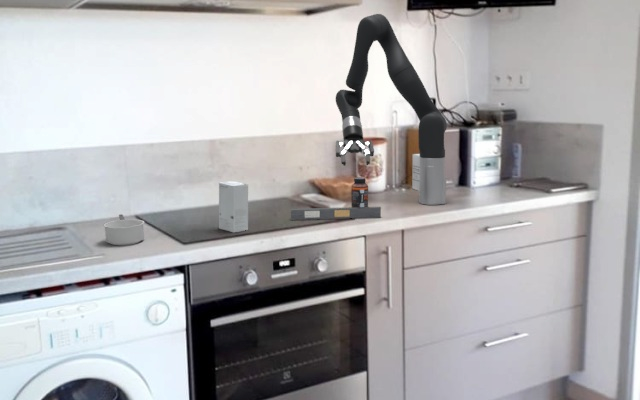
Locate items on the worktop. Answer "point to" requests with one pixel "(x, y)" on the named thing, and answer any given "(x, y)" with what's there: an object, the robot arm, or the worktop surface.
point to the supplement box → (415, 171)
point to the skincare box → (233, 206)
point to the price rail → (335, 213)
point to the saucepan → (124, 231)
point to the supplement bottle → (359, 193)
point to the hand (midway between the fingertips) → (356, 164)
